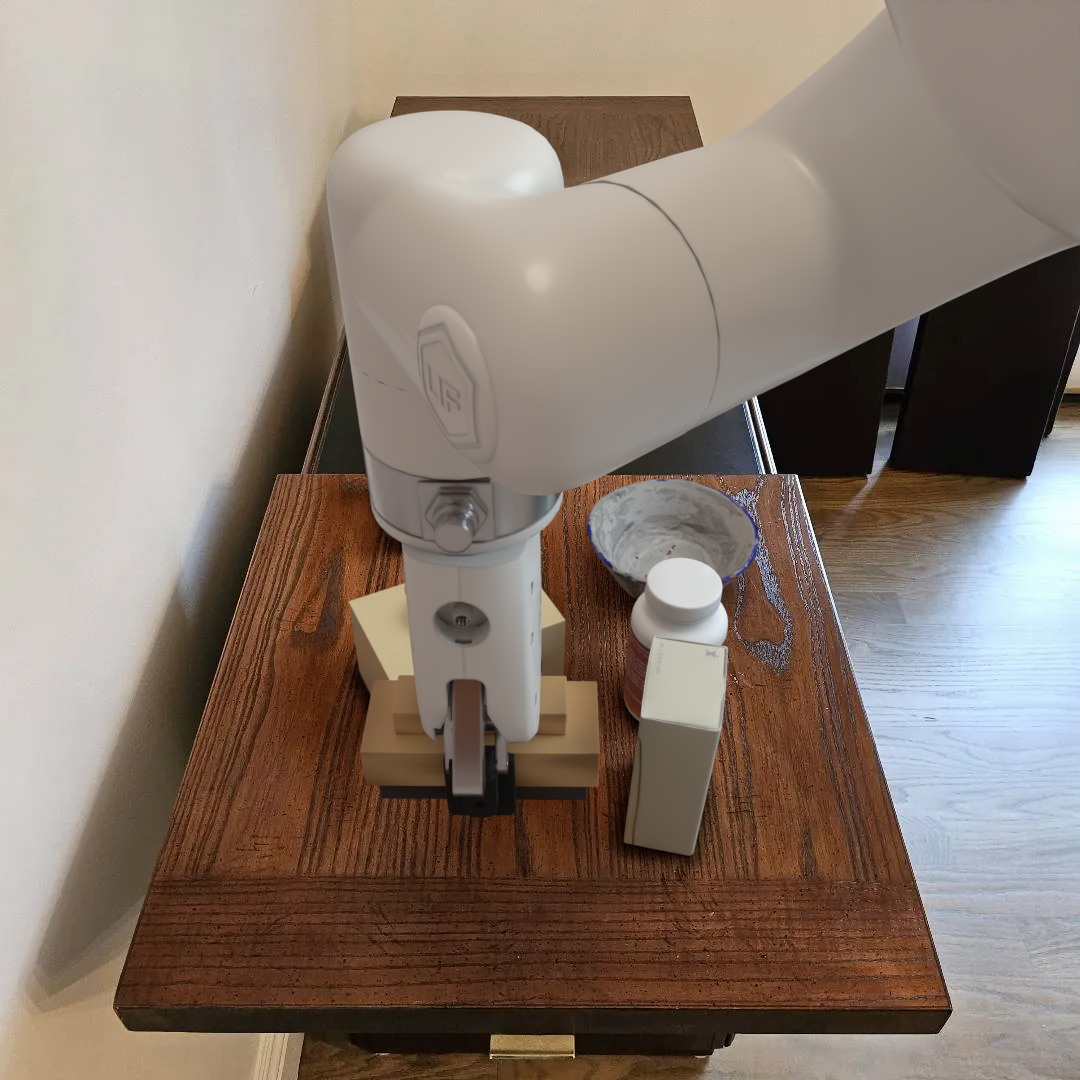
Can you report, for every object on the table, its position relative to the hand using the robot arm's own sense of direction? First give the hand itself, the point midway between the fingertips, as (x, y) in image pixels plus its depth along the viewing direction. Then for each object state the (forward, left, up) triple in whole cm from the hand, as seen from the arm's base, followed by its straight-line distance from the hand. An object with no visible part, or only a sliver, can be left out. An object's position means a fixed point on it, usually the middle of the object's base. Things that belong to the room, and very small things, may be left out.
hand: (485, 763), depth 50 cm
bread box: (+16, -5, -12) cm, 20 cm away
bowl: (+19, -24, -12) cm, 33 cm away
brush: (0, 0, 0) cm, 0 cm away
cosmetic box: (0, -12, -12) cm, 17 cm away
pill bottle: (+8, -17, -12) cm, 22 cm away
